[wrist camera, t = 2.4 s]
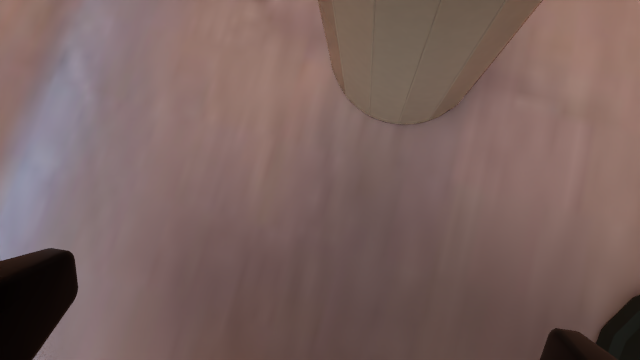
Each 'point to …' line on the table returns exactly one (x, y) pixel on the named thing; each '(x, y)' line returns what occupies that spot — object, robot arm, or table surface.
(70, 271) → the robot arm
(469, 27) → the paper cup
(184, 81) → the table surface
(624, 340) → the mug
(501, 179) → the table surface
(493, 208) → the table surface
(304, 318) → the table surface
